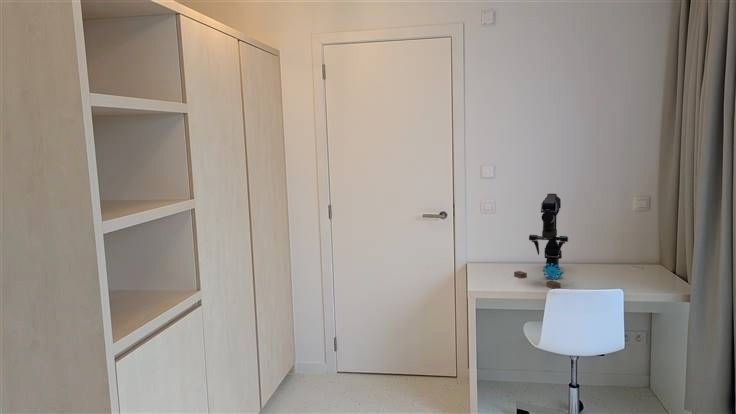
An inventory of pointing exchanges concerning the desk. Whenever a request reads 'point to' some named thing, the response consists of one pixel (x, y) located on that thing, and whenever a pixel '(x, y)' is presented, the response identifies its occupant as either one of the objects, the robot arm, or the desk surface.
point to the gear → (552, 271)
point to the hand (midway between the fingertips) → (548, 255)
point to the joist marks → (549, 283)
